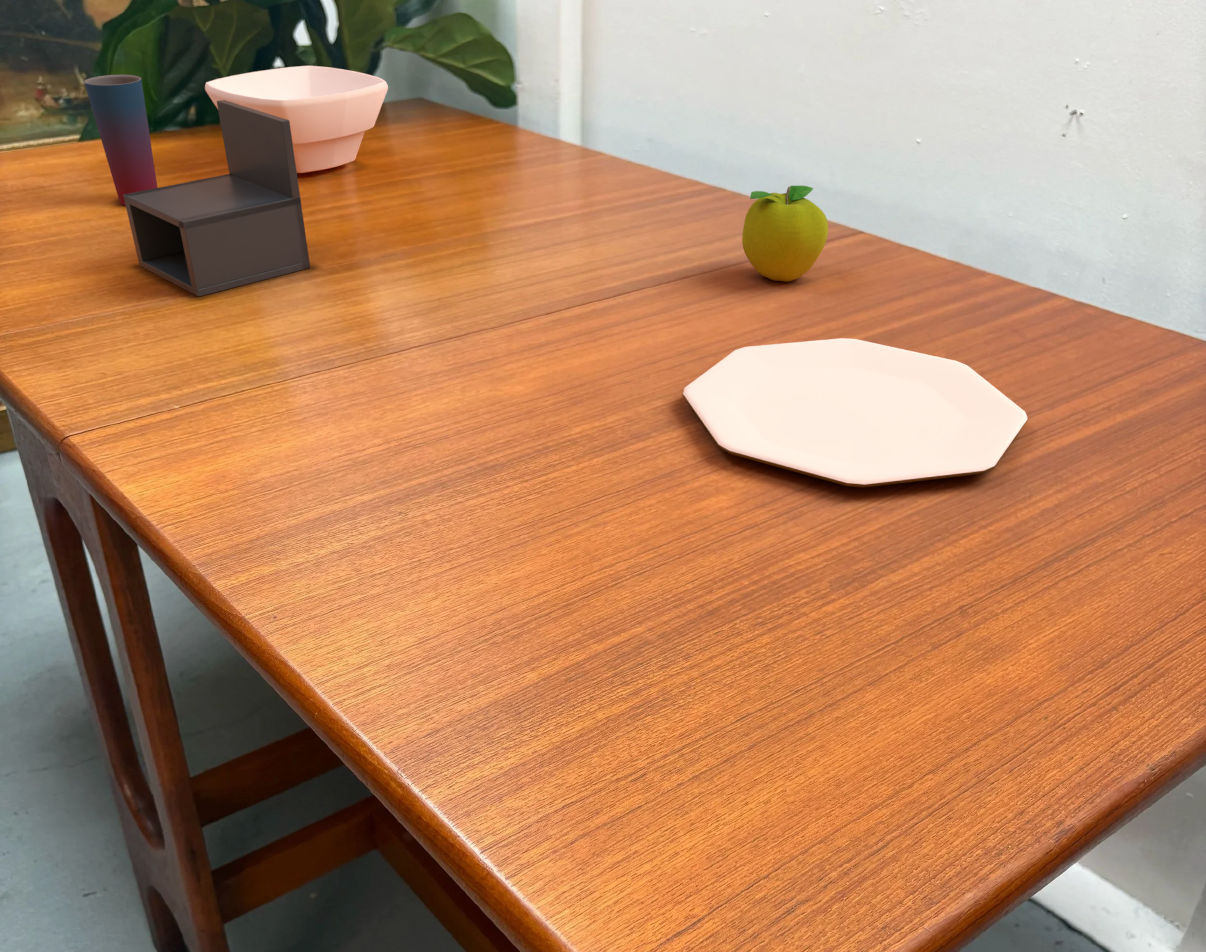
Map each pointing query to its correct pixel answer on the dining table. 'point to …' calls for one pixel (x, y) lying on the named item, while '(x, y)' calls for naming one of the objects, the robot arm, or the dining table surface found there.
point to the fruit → (784, 233)
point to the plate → (855, 412)
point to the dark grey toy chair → (227, 212)
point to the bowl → (311, 108)
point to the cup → (123, 131)
